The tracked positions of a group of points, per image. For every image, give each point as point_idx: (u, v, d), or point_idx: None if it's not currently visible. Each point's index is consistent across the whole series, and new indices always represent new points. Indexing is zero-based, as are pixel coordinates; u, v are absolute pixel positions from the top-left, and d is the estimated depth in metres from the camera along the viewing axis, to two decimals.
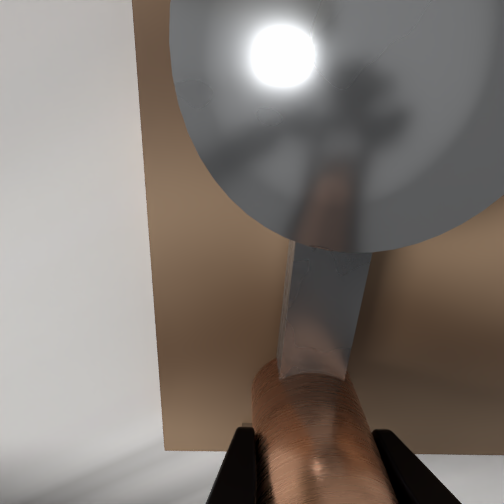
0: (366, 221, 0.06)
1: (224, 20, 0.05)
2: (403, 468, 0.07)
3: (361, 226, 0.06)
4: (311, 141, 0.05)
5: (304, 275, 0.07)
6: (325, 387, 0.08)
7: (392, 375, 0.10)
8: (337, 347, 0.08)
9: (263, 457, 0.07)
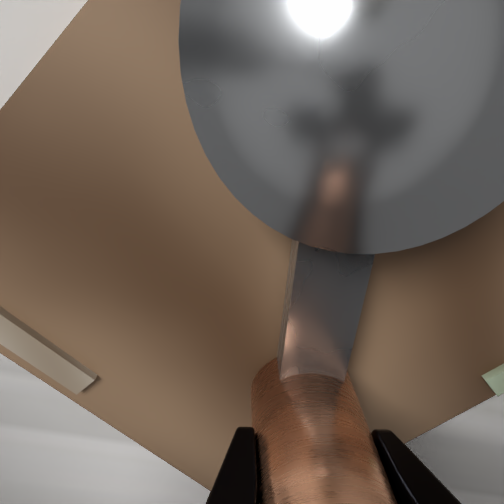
0: (370, 223, 0.06)
1: (233, 20, 0.05)
2: (403, 468, 0.07)
3: (365, 227, 0.06)
4: (317, 142, 0.05)
5: (307, 276, 0.07)
6: (325, 388, 0.08)
7: (175, 358, 0.09)
8: (337, 348, 0.08)
9: (263, 456, 0.07)
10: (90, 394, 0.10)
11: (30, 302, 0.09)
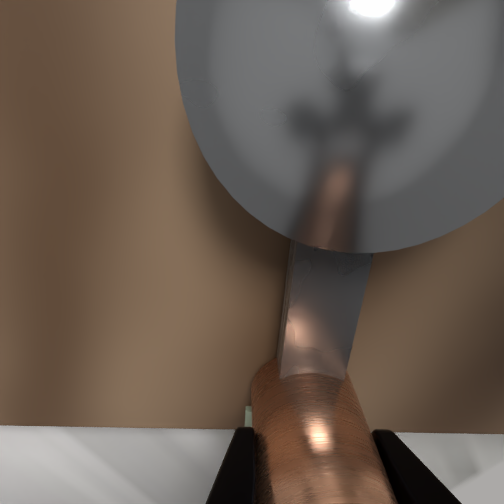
0: (368, 222, 0.06)
1: (230, 20, 0.05)
2: (403, 468, 0.07)
3: (363, 227, 0.06)
4: (314, 141, 0.05)
5: (305, 275, 0.07)
6: (325, 387, 0.08)
7: None
8: (337, 347, 0.08)
9: (263, 456, 0.07)
10: None
11: None
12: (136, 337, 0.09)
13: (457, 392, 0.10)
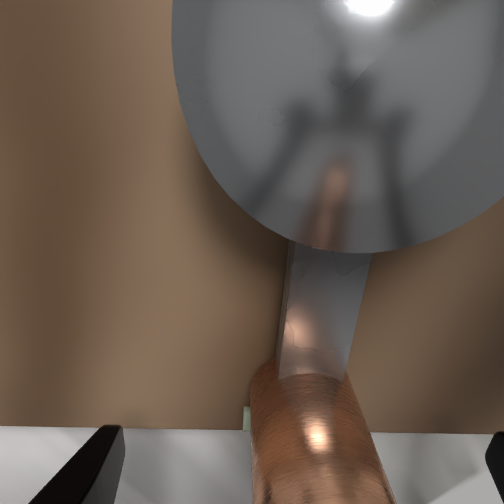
0: (366, 221, 0.06)
1: (226, 19, 0.05)
2: None
3: (361, 226, 0.06)
4: (312, 141, 0.05)
5: (304, 275, 0.07)
6: (324, 387, 0.08)
7: None
8: (335, 348, 0.08)
9: (262, 456, 0.07)
10: None
11: None
12: (134, 337, 0.09)
13: (456, 393, 0.10)
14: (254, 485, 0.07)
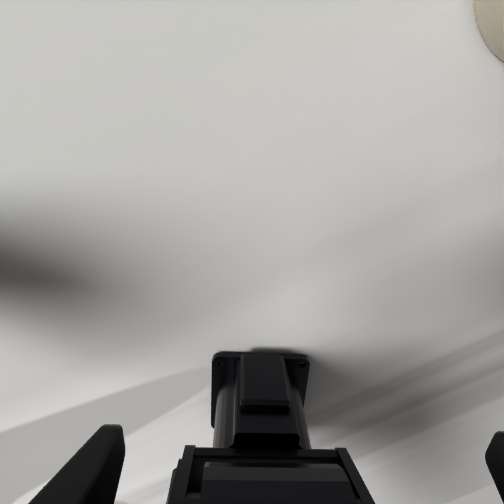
0: None
1: None
2: None
3: None
4: None
5: None
6: None
7: None
8: None
9: None
10: None
11: None
12: None
13: None
14: None
